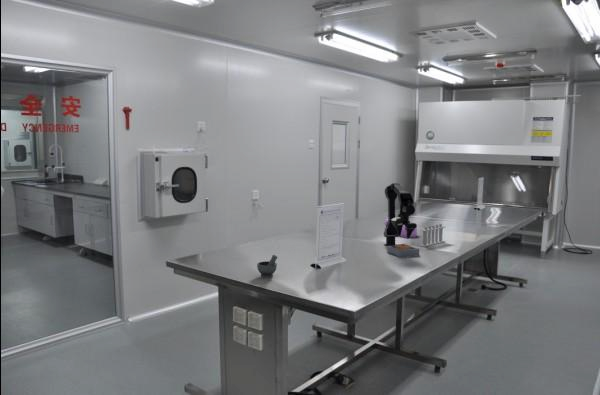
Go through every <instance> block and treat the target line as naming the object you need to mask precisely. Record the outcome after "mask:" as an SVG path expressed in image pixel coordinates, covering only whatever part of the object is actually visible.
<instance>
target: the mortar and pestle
mask: <svg viewBox="0 0 600 395" xmlns="http://www.w3.org/2000/svg"><path fill="white" fill-rule="evenodd" d="M277 259H278V256H277V255H276V254H273V255H272V256H271V258H270V260H269V261H266V260H265V261H260V262H258V263H257V264H256V265H257V270H258V272H259V273H260V277H261V279H273V277H274V273H275V272H276V270H277V266H278V265H277V262H276V261H277Z"/></svg>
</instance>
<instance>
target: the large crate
mask: <svg viewBox="0 0 600 395" xmlns="http://www.w3.org/2000/svg"><path fill="white" fill-rule="evenodd" d="M410 246H411V245H410ZM386 247H387V248H386V249H387V250H386V253H388V254H390V253H391V254H390V255H392V256H395V255H396V257H398V258H405V257H407V256H408V257H416V256H415V255H418V256H420V249H419V248H417V247H416V246H411V249H410V250H398V249H396V244H395V246H386Z"/></svg>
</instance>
